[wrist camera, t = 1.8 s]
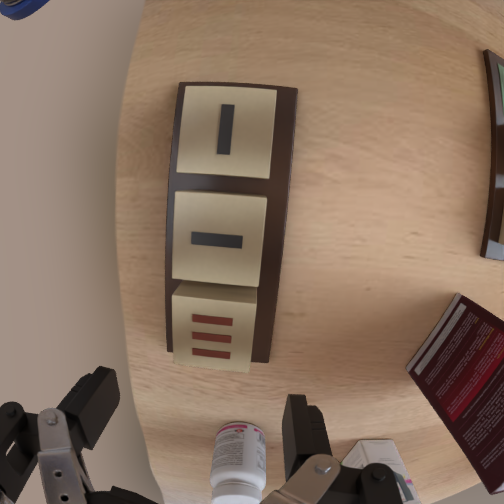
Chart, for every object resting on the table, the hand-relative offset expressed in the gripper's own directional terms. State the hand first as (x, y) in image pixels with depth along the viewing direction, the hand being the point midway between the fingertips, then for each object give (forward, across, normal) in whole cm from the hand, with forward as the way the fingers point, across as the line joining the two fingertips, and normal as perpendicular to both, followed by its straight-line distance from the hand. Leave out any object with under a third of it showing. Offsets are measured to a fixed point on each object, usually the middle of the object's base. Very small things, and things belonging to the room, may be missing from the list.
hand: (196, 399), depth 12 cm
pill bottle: (+10, -2, +14) cm, 17 cm away
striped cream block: (+9, 0, 0) cm, 9 cm away
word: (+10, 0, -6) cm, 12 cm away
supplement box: (+10, -20, +2) cm, 23 cm away
